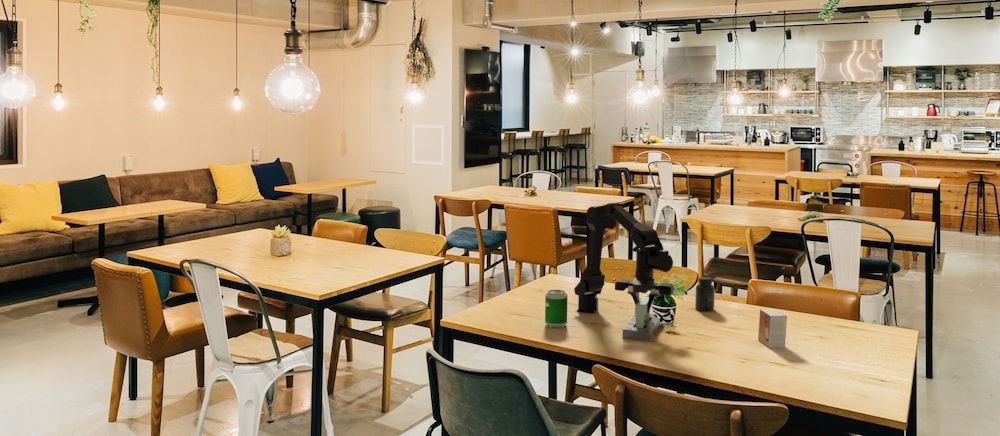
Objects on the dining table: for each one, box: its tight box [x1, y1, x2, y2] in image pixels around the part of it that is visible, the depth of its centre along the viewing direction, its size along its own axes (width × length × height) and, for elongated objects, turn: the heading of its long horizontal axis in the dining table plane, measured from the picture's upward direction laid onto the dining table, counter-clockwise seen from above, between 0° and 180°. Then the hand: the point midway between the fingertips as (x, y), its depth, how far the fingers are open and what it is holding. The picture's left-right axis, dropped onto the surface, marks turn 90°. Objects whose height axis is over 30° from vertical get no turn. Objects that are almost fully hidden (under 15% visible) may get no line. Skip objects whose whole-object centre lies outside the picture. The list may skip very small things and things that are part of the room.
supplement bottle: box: [694, 276, 716, 312], centre depth 288 cm, size 7×7×12 cm
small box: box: [757, 308, 788, 349], centre depth 247 cm, size 8×6×10 cm
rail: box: [622, 313, 661, 342], centre depth 261 cm, size 9×22×3 cm, turn 159°
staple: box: [634, 296, 651, 328], centre depth 260 cm, size 3×12×8 cm, turn 159°
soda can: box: [544, 289, 568, 328], centre depth 266 cm, size 8×8×12 cm
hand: (643, 311), depth 260 cm, fingers closed on staple, 3 cm apart
